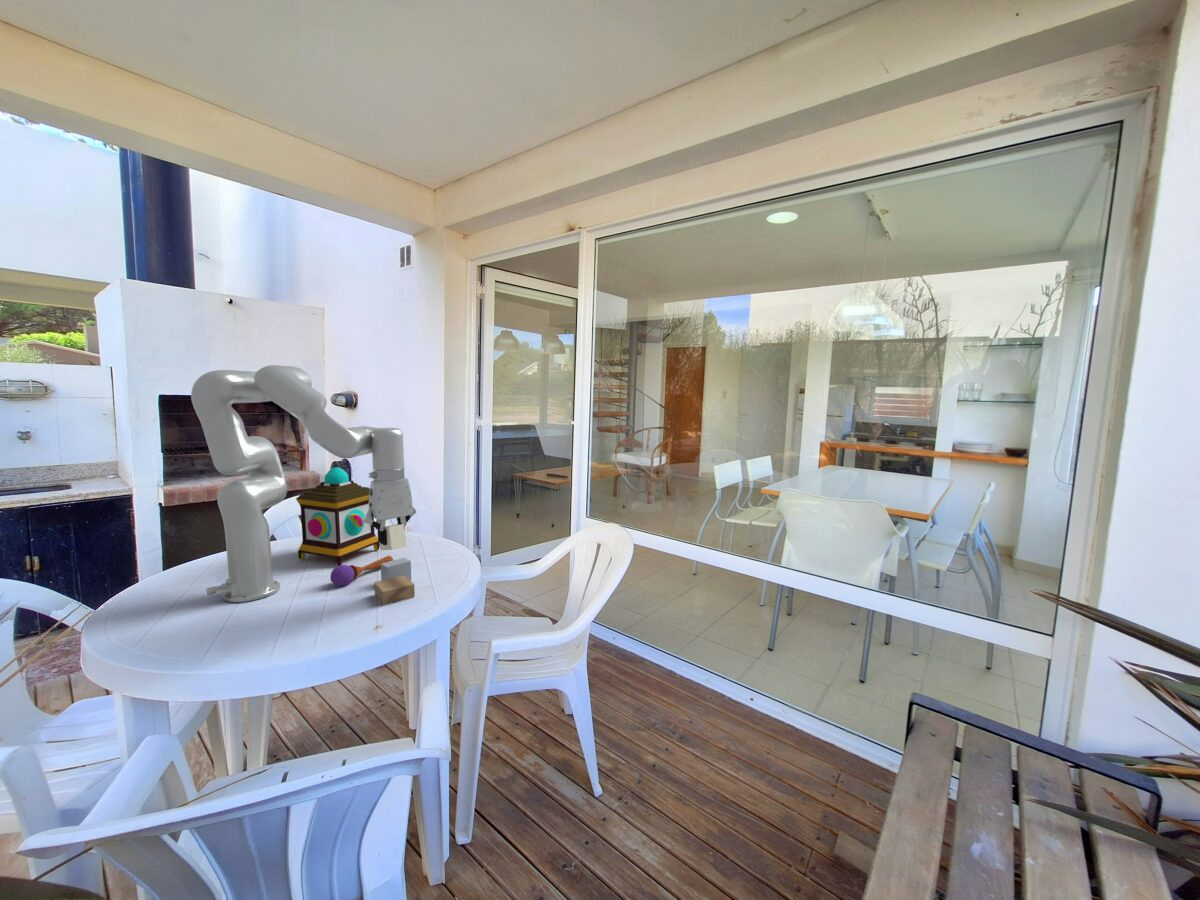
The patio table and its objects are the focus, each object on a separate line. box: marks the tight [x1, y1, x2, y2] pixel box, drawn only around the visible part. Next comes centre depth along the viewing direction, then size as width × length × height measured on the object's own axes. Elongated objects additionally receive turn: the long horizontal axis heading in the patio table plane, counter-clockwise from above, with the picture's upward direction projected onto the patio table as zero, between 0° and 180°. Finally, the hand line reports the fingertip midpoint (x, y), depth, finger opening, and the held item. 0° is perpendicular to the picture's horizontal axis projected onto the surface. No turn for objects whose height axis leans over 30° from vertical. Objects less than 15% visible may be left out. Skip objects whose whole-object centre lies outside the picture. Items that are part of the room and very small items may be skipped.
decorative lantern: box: [295, 467, 380, 567], centre depth 157 cm, size 20×20×30 cm
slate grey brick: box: [380, 557, 412, 581], centre depth 138 cm, size 7×4×6 cm, turn 140°
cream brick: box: [376, 524, 408, 551], centre depth 126 cm, size 7×4×6 cm, turn 49°
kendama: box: [330, 555, 394, 587], centre depth 142 cm, size 6×6×20 cm
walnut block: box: [374, 575, 416, 606], centre depth 128 cm, size 8×8×4 cm
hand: (391, 541), depth 126 cm, fingers closed on cream brick, 3 cm apart
